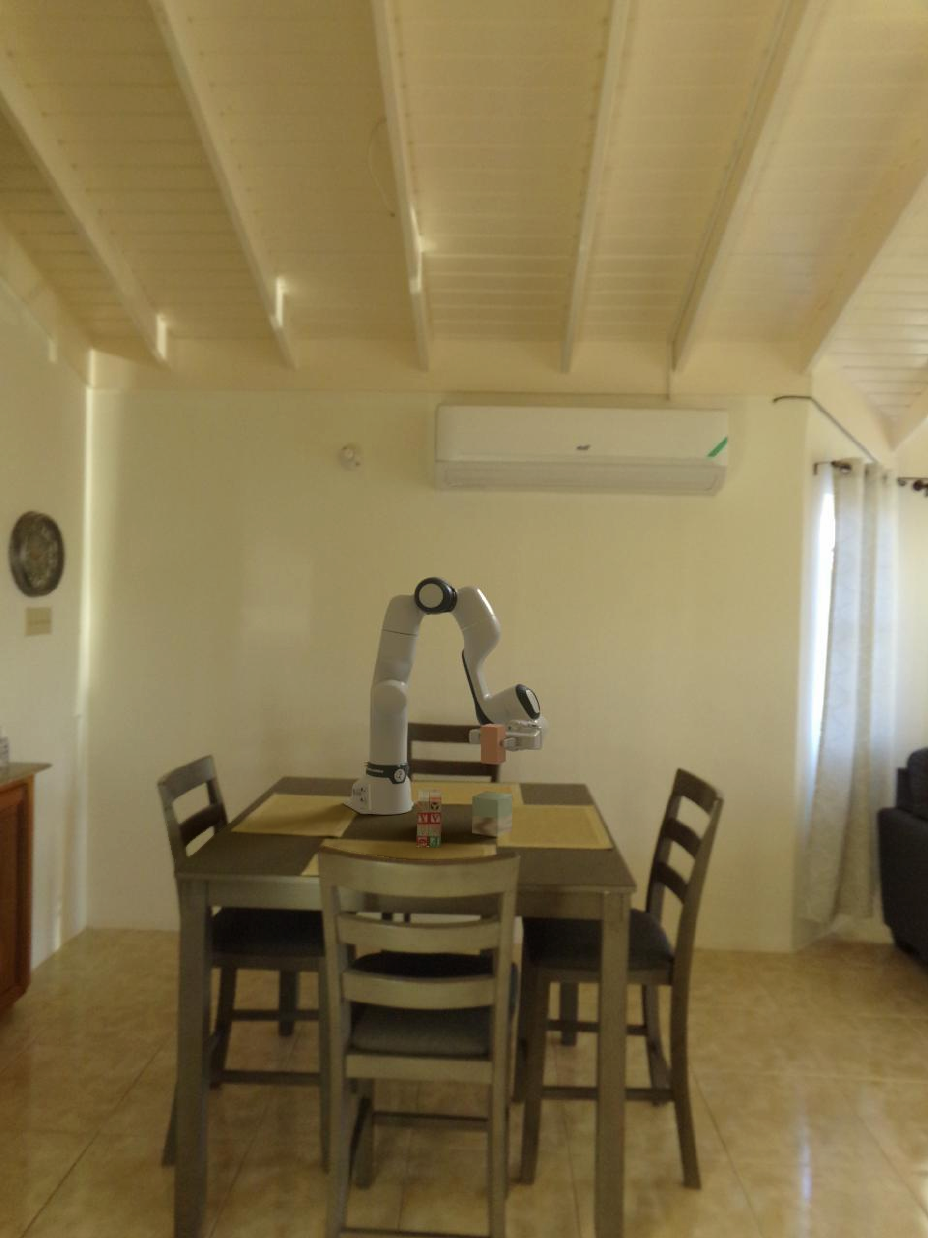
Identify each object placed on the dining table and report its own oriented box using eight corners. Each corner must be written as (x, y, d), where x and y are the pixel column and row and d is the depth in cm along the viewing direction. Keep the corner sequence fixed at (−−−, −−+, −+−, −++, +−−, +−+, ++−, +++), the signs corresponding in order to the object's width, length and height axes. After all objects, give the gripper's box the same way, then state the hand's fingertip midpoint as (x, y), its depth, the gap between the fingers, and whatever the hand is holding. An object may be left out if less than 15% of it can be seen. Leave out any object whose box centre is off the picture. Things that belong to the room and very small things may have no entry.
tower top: (472, 815, 253) (472, 796, 253) (486, 809, 260) (486, 791, 260) (498, 819, 249) (498, 800, 249) (512, 813, 256) (512, 795, 256)
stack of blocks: (417, 826, 260) (417, 782, 260) (439, 826, 260) (440, 782, 260) (416, 847, 239) (417, 800, 238) (441, 848, 239) (441, 800, 239)
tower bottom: (471, 833, 254) (472, 815, 253) (486, 827, 261) (486, 809, 260) (497, 837, 250) (498, 819, 249) (512, 831, 256) (512, 813, 256)
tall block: (480, 763, 253) (480, 726, 253) (489, 759, 257) (489, 723, 257) (497, 764, 251) (497, 727, 250) (505, 761, 255) (505, 725, 255)
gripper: (482, 721, 270) (458, 728, 258) (547, 727, 260) (525, 734, 248) (482, 743, 270) (458, 750, 258) (547, 749, 260) (525, 757, 248)
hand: (491, 742), depth 253 cm, fingers closed on tall block, 5 cm apart
